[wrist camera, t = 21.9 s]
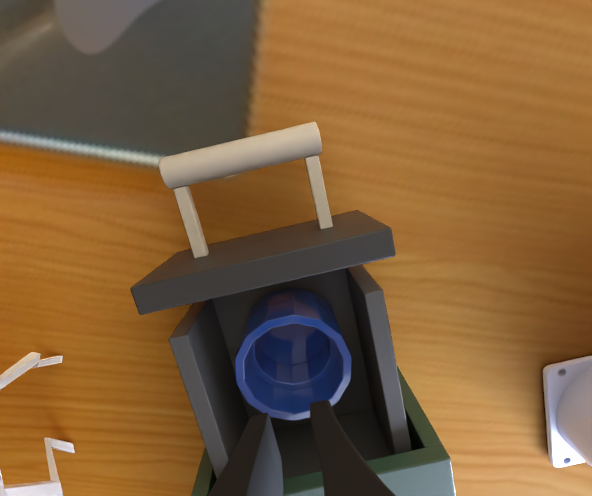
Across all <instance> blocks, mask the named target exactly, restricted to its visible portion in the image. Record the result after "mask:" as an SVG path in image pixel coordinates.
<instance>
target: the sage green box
mask: <svg viewBox="0 0 592 496" xmlns="http://www.w3.org/2000/svg"><path fill="white" fill-rule="evenodd" d="M397 371H398V376H399V382H400V387H401V393H402V398H403V404H404V409H405V415H406V420H407V426H408V431H409V437H410V442H411V448H412V451H408V452H404V453H399V454H395V455H390V456H385V457H381V458H376V459H372V460H367V461H365V462H366V463H367V464H368V465H369V467H370V468H371V469H372V470H373V471H374V473H375V474H376V475H377V476H378V477H379V478H380V479H381V481H382V482H383V483H384V484H385V485H386V486H387V487H388V488H389V489H390V490H391V491H392V492H393V493H394V494H395V495H396V496H456V494H455V487H454V480H453V474H452V467H451V460H450V457H449V455H448V453H447V452H446V450H445V448H444V446H443V445H442V443H441V441H440V439H439V437H438V436H437V434H436V432H435V430H434V429H433V427H432V425H431V424H430V422H429V420H428V418H427V417H426V415H425V413H424V411H423V410H422V408H421V406H420V405H419V403H418V401H417V399H416V398H415V396H414V394H413V392H412V391H411V389H410V387H409V386H408V384H407V382H406V380H405V379H404V377H403V375H402V373H401V372H400V370H399V368H398V367H397ZM216 481H217V478H216V475H215V472H214V469H213V466H212V464H211V461H210V458H209V455H208V452H207V449H206V446H205V449H204V452H203V456H202V459H201V463H200V466H199V470H198V473H197V477H196V480H195V484H194V487H193V491H192V494H191V496H208V494H209V493H210V491H211V489H212V488H213V486H214V484H215V483H216ZM283 496H325V495H324V485H323V474H322V471H317V472H313V473H308V474H304V475H299V476H294V477H290V478H285V479H283Z"/></svg>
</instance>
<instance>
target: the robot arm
mask: <svg viewBox="0 0 592 496" xmlns="http://www.w3.org/2000/svg"><path fill="white" fill-rule="evenodd" d="M559 370H561V371H560V372H559ZM543 384H544V398H545V412H546V426H547V440H548V455H549V461H550V463H551V464H552V465H553V466H554V467H564V466H569V465H573V464H578V463H582V462H587V463H588V464H589V465H590V466H591V467H592V355H591V356H587V357H582V358H578V359H573V360H569V361H564V362H560V363H555V364H551V365H548V366H546V367H545V368H544V370H543ZM310 419H311V423H312V427H313V432H314V436H315V441H316V445H317V449H318V454H319V458H320V462H321V468H322V474H323V485H324V495H325V496H396V495H395V494H394V493H393V492H392V491H391V490H390V489H389V488H388V487H387V486H386V485H385V484H384V483H383V482H382V481H381V479H380V478H379V477H378V476H377V475H376V474H375V473H374V471H373V470H372V469H371V468H370V467H369V465H368V464H367V463H366V462H365V460H364V459H363V458H362V456H361V455H360V454H359V452H358V451H357V450H356V448H355V447H354V446H353V444H352V443H351V441H350V440H349V438H348V437H347V435H346V433H345V432H344V430H343V429H342V427H341V425H340V423H339V422H338V420H337V418H336V416H335V414H334V412H333V409H332V406H331V403H330V401H328V400H327V399H326V400H322V401H317V402H313V403H310ZM208 496H283V474H282V459H281V456H280V452H279V449H278V445H277V442H276V438H275V435H274V431H273V428H272V424H271V421H270V417H269V414H268V413H264V414H259V415H255V416H251V418H250V419H249V421H248V423H247V425H246V427H245V429H244V431H243V433H242V435H241V437H240V439H239V441H238V443H237V445H236V447H235V449H234V451H233V453H232V455H231V457H230V458H229V460H228V462H227V464H226V466H225V468H224V469H223V471H222V473H221V474H220V476H219V478H218V479H217V481H216V483H215V484H214V486H213V488H212V489H211V491H210V493H209V494H208Z"/></svg>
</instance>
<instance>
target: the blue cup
mask: <svg viewBox="0 0 592 496" xmlns="http://www.w3.org/2000/svg"><path fill="white" fill-rule="evenodd" d="M351 366H352V357H351V353H350V350H349V348H348V345H347V342H346V339H345V337H344V334H343V331H342V328H341V326H340V323H339V321H338V319H337V317H336V315H335V313H334V311H333V309H332V306H331V305H330V304H329V303H327V302H326V301H325V300H323V299H322V298H321V297H319V296H318V295H317V294H315V293H313V292H309V291H305V290H300V289H295V288H289V289H285V290H280V291H276V292H272V293H269V294H268V295H266V296H265V297H264V298H262V299H261V300H260V301H259V302H257V303H256V304H255V305H254V306H253V307H252V309H251V311H250V313H249V315H248V317H247V319H246V321H245V323H244V326H243V330H242V334H241V338H240V342H239V346H238V349H237V353H236V357H235V373H236V383H237V385H238V387H239V389H240V390H241V392H242V394H243V395H244V397H245V399H246V400H247V402H248V403H249V404H250V405H252V406H253V407H255V408H256V409H258V410H259V411H261V412H262V413H268V414H269V417H273V418H279V419H284V420H290V421H297V420H301V419H306V418H310V403H313V402H317V401H322V400H326V399H327V400H328V401H330V403H331V406H333V405H334V404H336V403H337V402H338V401H339V400H340V398H341V397H342V395H343V393H344V391H345V390H346V388H347V386H348V384H349V383H350V380H351Z"/></svg>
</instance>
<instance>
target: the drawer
mask: <svg viewBox="0 0 592 496" xmlns="http://www.w3.org/2000/svg"><path fill="white" fill-rule="evenodd" d="M321 153H322V144H321V138H320V133H319V129H318V126H317V124H316V122H311V123H307V124H303V125H298V126H294V127H290V128H286V129H282V130H277V131H273V132H269V133H265V134H261V135H256V136H252V137H248V138H244V139H240V140H235V141H231V142H227V143H223V144H219V145H214V146H210V147H206V148H202V149H198V150H193V151H189V152H185V153H181V154H177V155H172V156H168V157H164V158H161V159H160V160H159V170H160V174H161V177H162V179H163V181H164V183H165V185H166V186H167V187H168V188H169V189H174V194H175V197H176V200H177V203H178V207H179V210H180V213H181V216H182V220H183V223H184V226H185V229H186V233H187V236H188V239H189V242H190V245H191V249H188V250H184V251H180V252H177V253H176V254H174V255H173V256H172V257H170V258H169V259H168V260H166V261H165V262H164V263H163V264H161V265H160V266H159V267H157V268H156V269H155V270H153V271H152V272H151V273H149V274H148V275H147V276H146V277H144V278H143V279H142V280H140V281H139V282H138V283H136V284H135V285H134V286H132V287H131V288H130V290H131V293H132V296H133V298H134V301H135V304H136V307H137V309H138V312H139V314H140V315H143V314H147V313H152V312H156V311H160V310H165V309H169V308H174V307H178V306H182V305H187V304H191V303H193V304H192V306H191V307H190V308H189V310H188V311H187V313H186V314H185V316H184V317H183V319H182V320H181V322H180V323H179V324H178V326H177V327H176V329H175V330H174V332H173V333H172V335H171V336H170V338H169V342H170V345H171V348H172V351H173V354H174V357H175V360H176V362H177V365H178V368H179V371H180V374H181V377H182V380H183V383H184V386H185V388H186V391H187V394H188V397H189V400H190V403H191V406H192V409H193V412H194V414H195V417H196V420H197V423H198V426H199V429H200V432H201V435H202V438H203V440H204V443H205V446H206V449H207V452H208V455H209V458H210V461H211V464H212V466H213V469H214V472H215V475H216V478H217V479H218V478H219V476H220V474H221V473H222V471H223V469H224V468H225V466H226V464H227V462H228V460H229V458H230V457H231V455H232V453H233V451H234V449H235V447H236V445H237V443H238V441H239V439H240V437H241V435H242V433H243V431H244V429H245V427H246V425H247V423H248V421H249V419H250V418H251V416H255V415H259V414H264V413H262V412H261V411H259V410H258V409H256V408H255V407H253V406H252V405H250V404H249V403H248V402H247V400H246V399H245V397H244V395H243V394H242V392H241V390H240V389H239V387H238V385H237V383H236V373H235V357H236V353H237V349H238V346H239V342H240V338H241V334H242V330H243V326H244V323H245V321H246V319H247V317H248V315H249V313H250V311H251V309H252V307H253V306H254V305H255V304H256V303H257V302H259V301H260V300H261V299H262V298H264V297H265V296H266V295H268V294H269V293H272V292H276V291H280V290H285V289H289V288H295V289H300V290H305V291H309V292H313V293H315V294H317V295H318V296H319V297H321V298H322V299H323V300H325V301H326V302H327V303H329V304H330V305H331V306H332V309H333V311H334V313H335V315H336V317H337V319H338V321H339V323H340V326H341V328H342V331H343V334H344V337H345V339H346V342H347V345H348V348H349V350H350V353H351V357H352V366H351V380H350V383H349V384H348V386H347V388H346V390H345V391H344V393H343V395H342V397H341V398H340V400H339V401H338V402H337V403H336V404H334V405H333V406H332V409H333V412H334V414H335V416H336V418H337V420H338V422H339V423H340V425H341V427H342V429H343V430H344V432H345V433H346V435H347V437H348V438H349V440H350V441H351V443H352V444H353V446H354V447H355V448H356V450H357V451H358V452H359V454H360V455H361V456H362V458H363V459H364V460H365V461H367V460H372V459H376V458H381V457H385V456H390V455H395V454H399V453H404V452H408V451H412V448H411V442H410V437H409V431H408V426H407V420H406V415H405V409H404V404H403V398H402V393H401V387H400V382H399V376H398V371H397V365H396V359H395V354H394V348H393V343H392V337H391V332H390V326H389V321H388V315H387V310H386V304H385V299H384V293H383V290H382V289H381V288H380V286H379V285H378V284H377V283H376V281H375V280H374V279H373V278H372V277H371V275H370V274H369V273H368V272H367V271H366V269H365V268H364V267H363V266H362V264H365V263H369V262H373V261H378V260H382V259H386V258H391V257H394V256H395V255H396V253H395V247H394V241H393V235H392V229H391V228H390V227H388V226H386V225H385V224H383V223H381V222H379V221H377V220H375V219H373V218H372V217H370V216H368V215H366V214H364V213H362V212H360V211H358V210H356V211H352V212H347V213H343V214H339V215H334V216H331V214H330V209H329V205H328V200H327V195H326V190H325V185H324V180H323V176H322V171H321V166H320V161H319V156H318V155H319V154H321ZM302 158H305V159H304V160H305V164H306V169H307V173H308V178H309V183H310V187H311V192H312V196H313V201H314V206H315V210H316V215H317V220H313V221H309V222H304V223H300V224H296V225H291V226H287V227H283V228H279V229H274V230H270V231H266V232H261V233H257V234H253V235H248V236H244V237H240V238H236V239H231V240H227V241H223V242H218V243H214V244H210V245H206V241H205V238H204V234H203V231H202V228H201V224H200V221H199V218H198V214H197V211H196V208H195V204H194V201H193V197H192V194H191V191H190V187H189V186H188V185H192V184H197V183H201V182H205V181H209V180H214V179H218V178H222V177H226V176H230V175H235V174H239V173H243V172H247V171H252V170H256V169H260V168H264V167H269V166H273V165H277V164H281V163H286V162H290V161H294V160H298V159H302ZM270 421H271V424H272V428H273V431H274V435H275V438H276V442H277V445H278V449H279V452H280V456H281V459H282V474H283V479H285V478H290V477H294V476H299V475H304V474H308V473H313V472H317V471H322V468H321V462H320V458H319V454H318V449H317V445H316V441H315V436H314V432H313V427H312V423H311V419H310V418H306V419H301V420H297V421H290V420H284V419H279V418H273V417H270Z"/></svg>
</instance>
